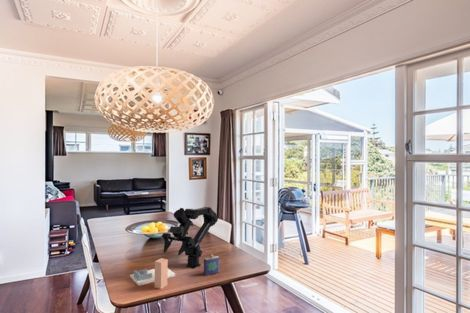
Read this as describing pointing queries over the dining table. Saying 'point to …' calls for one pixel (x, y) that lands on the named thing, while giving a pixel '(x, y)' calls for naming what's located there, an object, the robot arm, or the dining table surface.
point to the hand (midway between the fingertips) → (171, 253)
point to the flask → (211, 265)
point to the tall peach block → (161, 273)
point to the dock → (147, 276)
